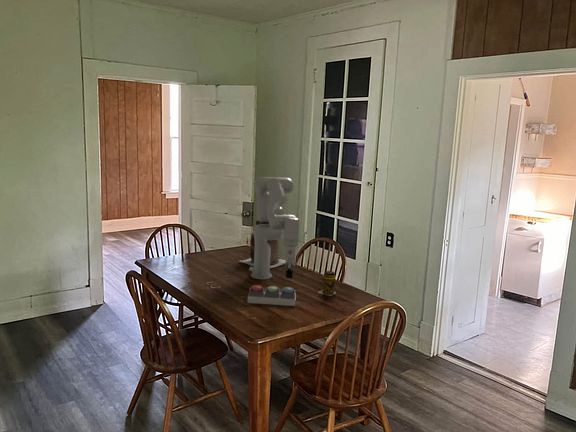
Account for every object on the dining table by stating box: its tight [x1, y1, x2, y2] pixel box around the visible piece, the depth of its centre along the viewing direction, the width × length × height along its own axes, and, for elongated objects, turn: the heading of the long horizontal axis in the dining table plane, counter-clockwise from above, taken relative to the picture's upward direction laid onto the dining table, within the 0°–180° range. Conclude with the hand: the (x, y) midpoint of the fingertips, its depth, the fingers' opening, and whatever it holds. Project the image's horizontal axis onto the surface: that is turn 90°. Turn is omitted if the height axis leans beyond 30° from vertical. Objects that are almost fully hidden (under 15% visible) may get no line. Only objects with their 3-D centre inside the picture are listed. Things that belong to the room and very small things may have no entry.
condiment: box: [317, 270, 337, 297], centre depth 259 cm, size 7×8×12 cm
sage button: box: [267, 285, 279, 293], centre depth 243 cm, size 5×5×2 cm
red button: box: [251, 284, 263, 292], centre depth 243 cm, size 5×5×2 cm
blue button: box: [282, 286, 294, 294], centre depth 242 cm, size 5×5×2 cm
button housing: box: [246, 286, 297, 307], centre depth 243 cm, size 24×10×6 cm, turn 88°
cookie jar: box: [238, 219, 286, 270], centre depth 309 cm, size 25×25×32 cm
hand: (289, 277), depth 241 cm, fingers closed
